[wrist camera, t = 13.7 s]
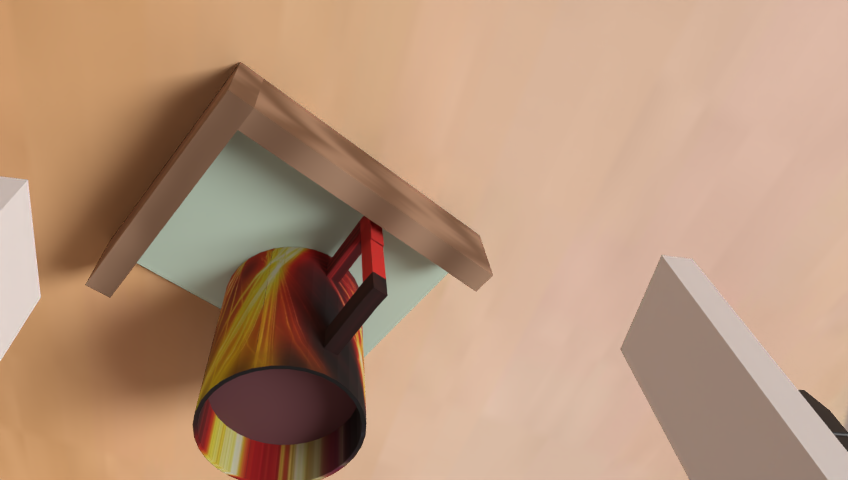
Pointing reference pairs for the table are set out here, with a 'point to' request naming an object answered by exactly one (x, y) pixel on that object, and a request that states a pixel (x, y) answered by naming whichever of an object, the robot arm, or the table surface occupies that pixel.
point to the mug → (291, 362)
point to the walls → (310, 155)
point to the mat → (274, 233)
